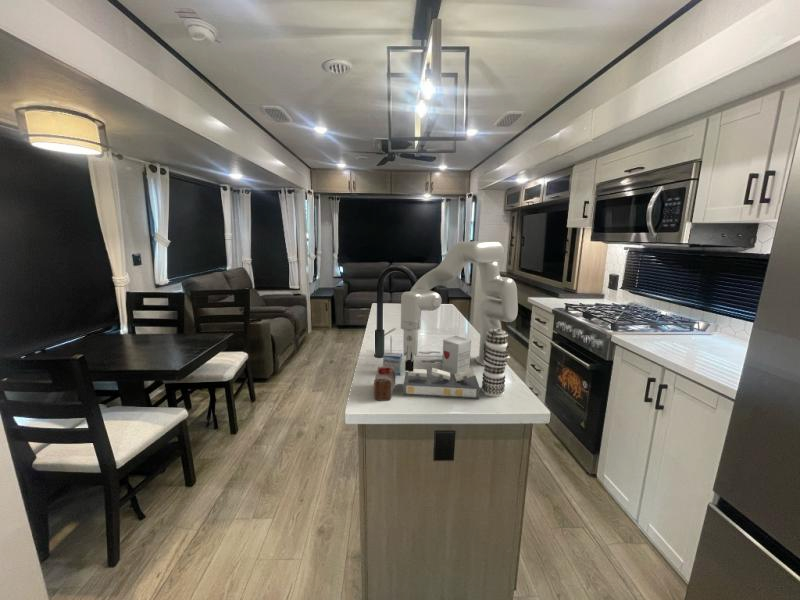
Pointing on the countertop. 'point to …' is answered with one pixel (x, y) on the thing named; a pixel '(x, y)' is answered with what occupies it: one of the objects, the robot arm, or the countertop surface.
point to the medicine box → (393, 362)
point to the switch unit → (441, 386)
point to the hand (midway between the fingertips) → (409, 370)
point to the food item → (384, 383)
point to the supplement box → (456, 354)
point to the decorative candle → (494, 362)
